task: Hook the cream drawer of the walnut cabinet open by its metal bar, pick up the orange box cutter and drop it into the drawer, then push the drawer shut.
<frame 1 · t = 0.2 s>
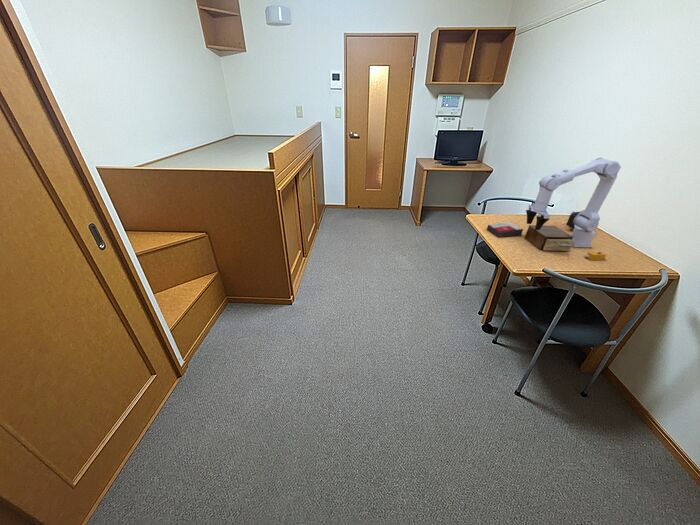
hand: (532, 226, 151), 10 cm above the table, tool pointing down, fingers open, 7 cm apart
drawer: (554, 241, 151), point 4 cm above the table, slide at 1.0 cm
box cutter: (593, 258, 144), on the table
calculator: (503, 232, 168), on the table
camera: (577, 230, 175), on the table
cabinet: (545, 243, 157), on the table
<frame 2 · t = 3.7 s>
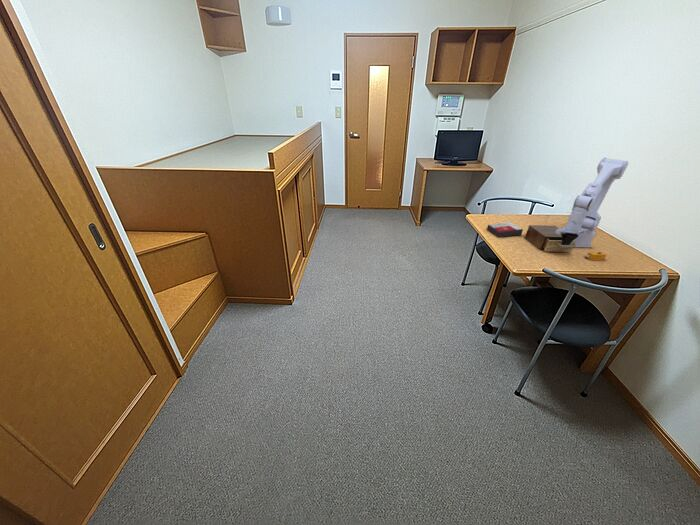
hand: (564, 246, 144), 5 cm above the table, tool pointing down, fingers closed
drawer: (555, 242, 150), point 4 cm above the table, slide at 2.0 cm, touching gripper
everything else where it was.
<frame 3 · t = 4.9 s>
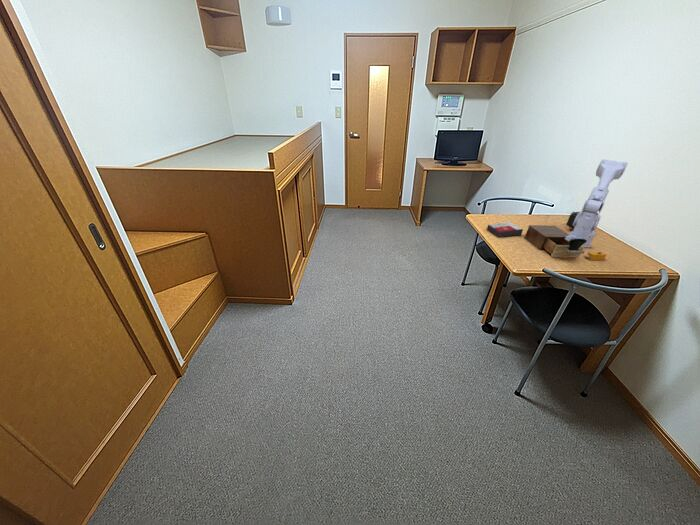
hand: (571, 252, 139), 5 cm above the table, tool pointing down, fingers closed
drawer: (562, 247, 145), point 4 cm above the table, slide at 7.6 cm, touching gripper
everything else where it was.
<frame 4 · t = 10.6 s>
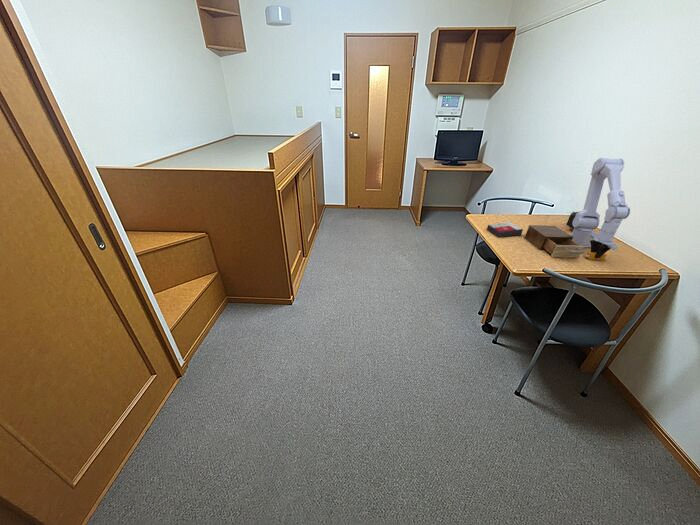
hand: (594, 256, 143), 1 cm above the table, tool pointing down, fingers closed on box cutter, 2 cm apart
drawer: (562, 247, 145), point 4 cm above the table, slide at 7.6 cm
box cutter: (593, 258, 144), on the table, touching gripper
everything else where it was.
when the fingers open (4 cm above the table, at t = 14.8 s): box cutter stays where it is, resting on drawer.
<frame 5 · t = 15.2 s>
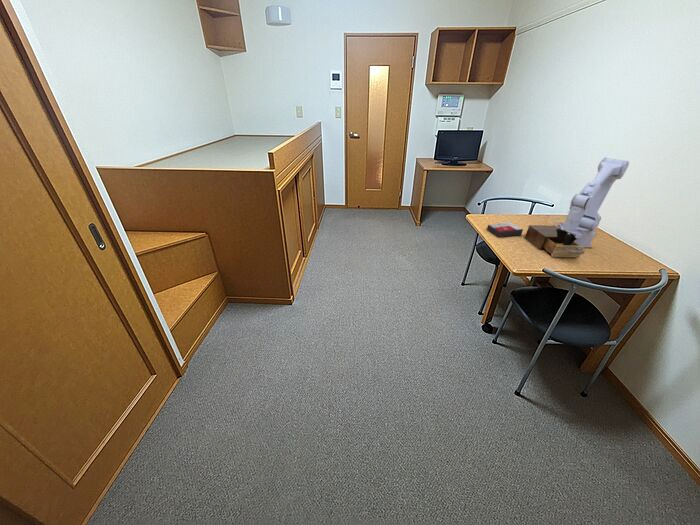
hand: (562, 245, 145), 5 cm above the table, tool pointing down, fingers open, 4 cm apart
drawer: (562, 247, 145), point 4 cm above the table, slide at 7.6 cm, touching box cutter
box cutter: (559, 250, 147), point 2 cm above the table, touching drawer
everything else where it was.
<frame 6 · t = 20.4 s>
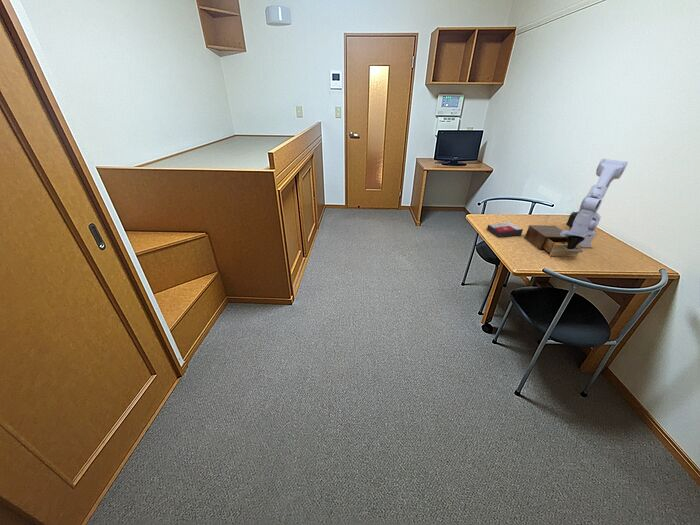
hand: (569, 249, 140), 5 cm above the table, tool pointing down, fingers closed, pressing on drawer
drawer: (560, 246, 146), point 4 cm above the table, slide at 6.4 cm, touching box cutter, gripper
box cutter: (558, 248, 148), point 2 cm above the table, touching drawer
everything else where it was.
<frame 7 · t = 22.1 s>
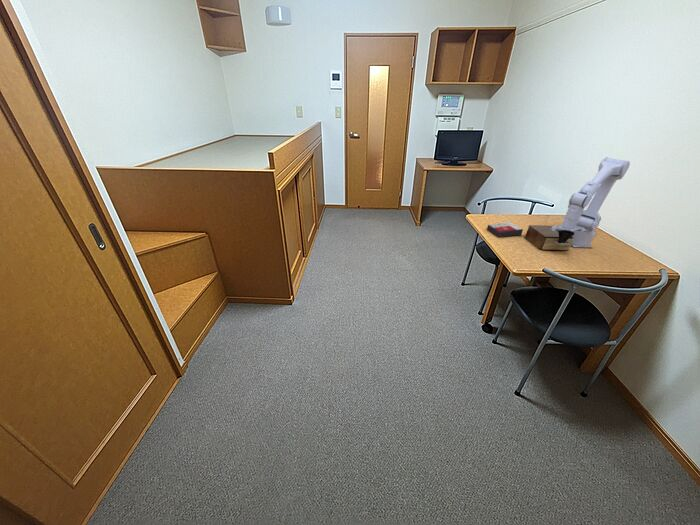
hand: (560, 244, 146), 5 cm above the table, tool pointing down, fingers closed, pressing on drawer
drawer: (552, 240, 151), point 4 cm above the table, slide at 0.0 cm, touching box cutter, cabinet, gripper
box cutter: (550, 243, 153), point 2 cm above the table, touching drawer
everything else where it was.
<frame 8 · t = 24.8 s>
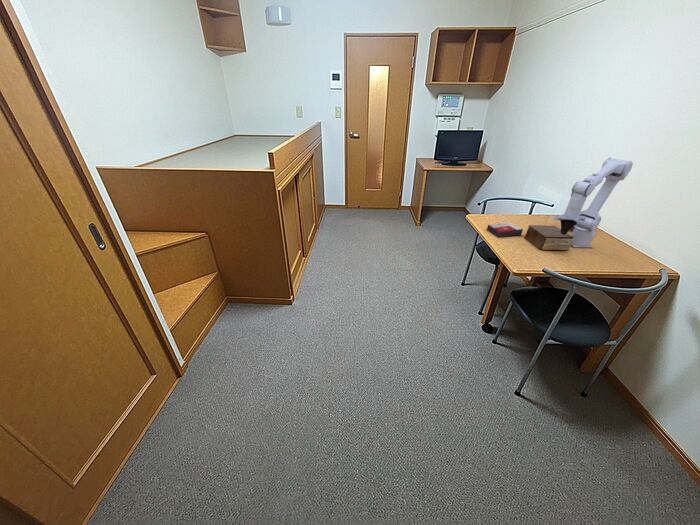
hand: (563, 233, 145), 10 cm above the table, tool pointing down, fingers closed
drawer: (552, 240, 151), point 4 cm above the table, slide at 0.0 cm, touching box cutter, cabinet
everything else where it was.
at the end: drawer pulled out 7.6 cm at the most during the clip, back to where it started at the end; box cutter inside the target area in the cabinet (3.0 cm from its centre), point 2.0 cm above the cabinet's base; drawer slide at 0.0 cm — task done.
